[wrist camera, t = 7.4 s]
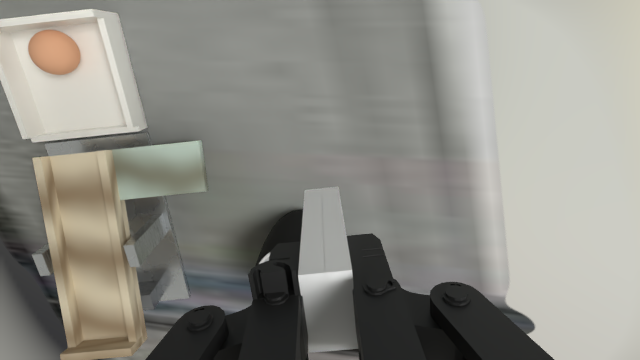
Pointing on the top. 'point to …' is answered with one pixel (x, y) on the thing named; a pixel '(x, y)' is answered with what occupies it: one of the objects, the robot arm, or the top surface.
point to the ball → (54, 52)
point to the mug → (282, 234)
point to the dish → (71, 78)
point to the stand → (135, 230)
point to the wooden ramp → (106, 236)
